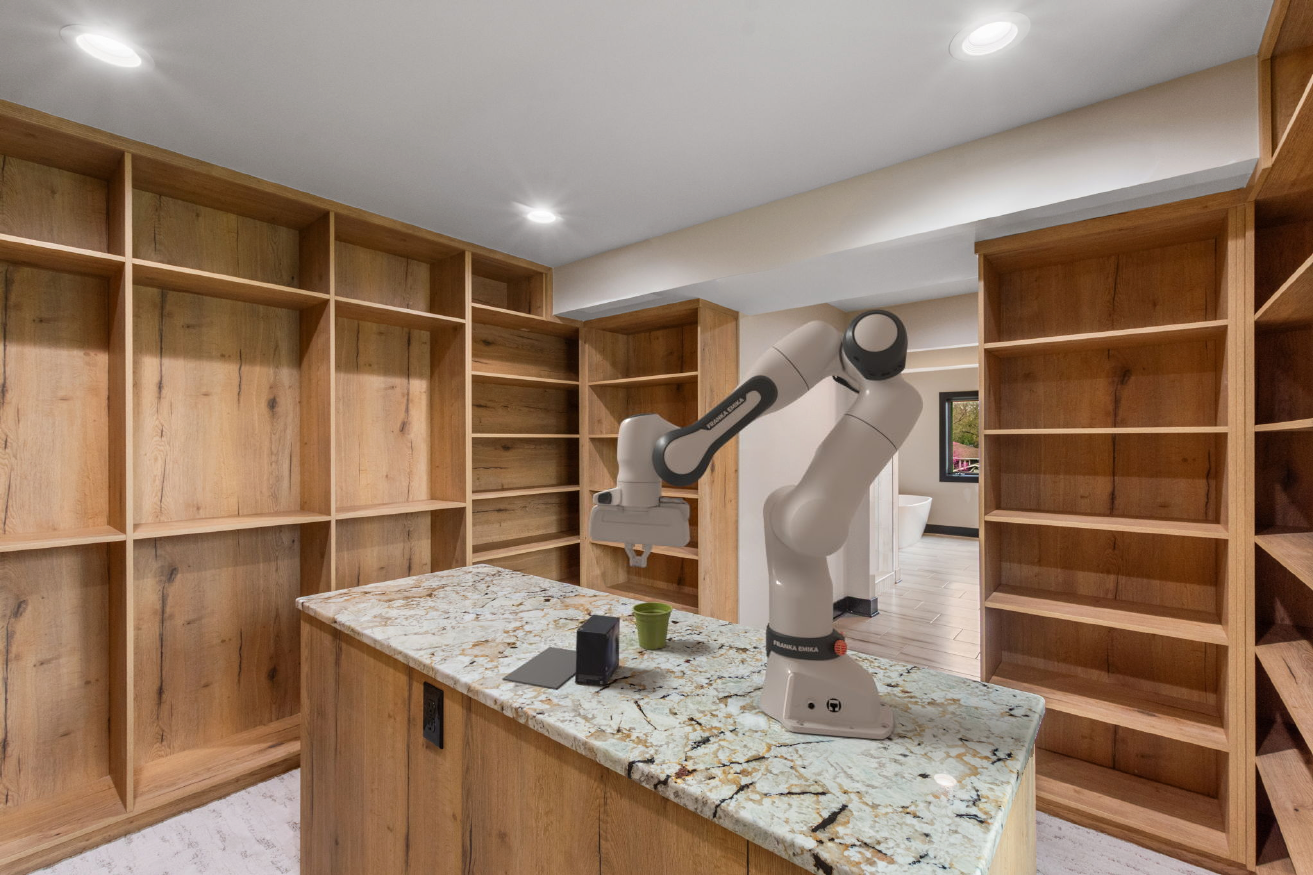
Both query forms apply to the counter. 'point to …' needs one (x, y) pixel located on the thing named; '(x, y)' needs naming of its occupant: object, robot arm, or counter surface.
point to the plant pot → (652, 623)
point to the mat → (546, 669)
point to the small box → (597, 650)
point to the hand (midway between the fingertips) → (638, 566)
